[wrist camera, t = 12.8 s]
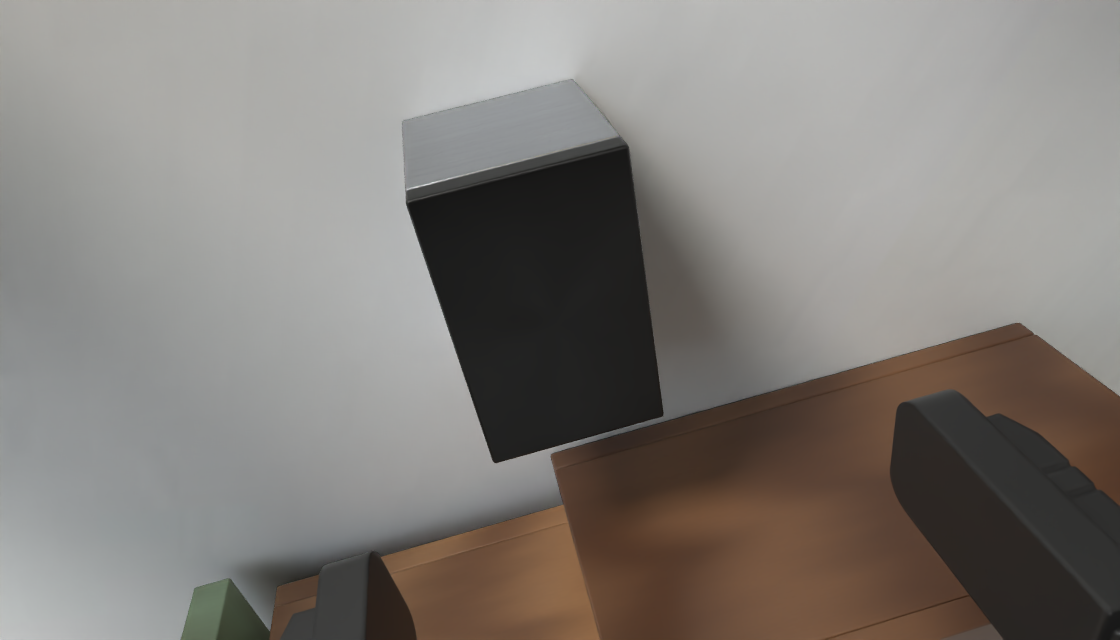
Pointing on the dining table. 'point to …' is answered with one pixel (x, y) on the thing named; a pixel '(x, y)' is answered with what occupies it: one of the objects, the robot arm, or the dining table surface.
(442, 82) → the dining table surface
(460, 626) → the drawer
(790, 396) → the cabinet
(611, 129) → the black lidded box
